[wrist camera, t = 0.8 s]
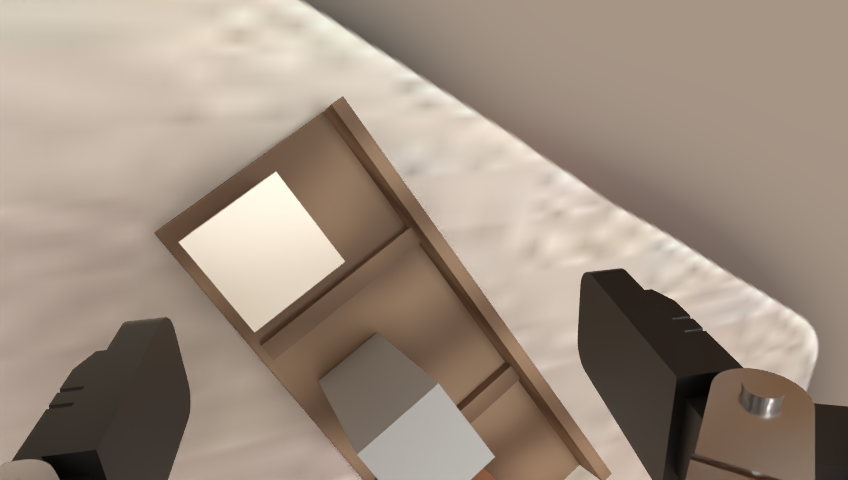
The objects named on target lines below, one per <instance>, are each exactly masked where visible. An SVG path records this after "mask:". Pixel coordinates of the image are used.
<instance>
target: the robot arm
mask: <svg viewBox="0 0 848 480" xmlns="http://www.w3.org/2000/svg"><path fill="white" fill-rule="evenodd" d="M578 350H579V356H580V360H581V363H582V366H583V368H584V370H585V372H586V373H587V375H588V377H589V378H590V380H591V381H592V383H593V385H594V386H595V388H596V390H597V391H598V393H599V394H600V396H601V398H602V399H603V401H604V403H605V404H606V406H607V407H608V409H609V411H610V412H611V414H612V415H613V417H614V419H615V420H616V422H617V424H618V425H619V427H620V428H621V430H622V432H623V433H624V435H625V436H626V438H627V440H628V441H629V443H630V445H631V446H632V448H633V449H634V451H635V453H636V454H637V456H638V457H639V459H640V461H641V462H642V464H643V466H644V467H645V469H646V470H647V472H648V474H649V475H650V477H651V478H652V480H848V407H846V406H834V405H823V404H815V403H814V402H813V400H812V398H811V397H810V396H809V395H808V393H807V392H806V391H805V390H804V389H803V388H801V387H800V386H799V385H797V384H796V383H794V382H792V381H791V380H789V379H787V378H785V377H782V376H780V375H777V374H774V373H771V372H768V371H764V370H758V369H751V368H743V367H742V366H741V365H740V364H739V363H738V362H737V361H736V360H735V359H734V358H733V357H732V356H731V355H730V354H729V353H728V352H727V351H726V350H725V349H724V348H723V347H722V346H721V345H720V344H719V343H717V342H716V341H715V340H714V339H713V338H712V337H711V336H710V335H709V334H708V333H707V332H706V331H703V329H702V327H701V326H700V325H699V324H698V323H697V322H696V321H695V320H694V319H690V315H689V314H688V313H687V312H686V311H685V310H684V309H683V308H682V307H681V306H680V305H679V304H678V303H677V302H675V301H674V300H672V299H670V298H668V297H666V296H664V295H662V294H660V293H658V292H656V291H654V290H652V289H651V290H644V289H643V288H642V287H641V286H640V285H639V284H638V283H637V282H636V281H635V280H634V279H633V278H632V277H631V276H630V275H629V274H628V273H627V271H625V270H624V269H621V268H620V269H611V270H602V271H593V272H586V273H584V274H583V276H582V279H581V288H580V306H579V324H578ZM189 413H190V390H189V384H188V380H187V376H186V372H185V368H184V365H183V361H182V357H181V353H180V349H179V345H178V341H177V337H176V334H175V330H174V327H173V324H172V322H171V320H170V319H169V318H167V317H165V318H156V319H147V320H138V321H128V322H125V323H123V325H122V326H121V328H120V329H119V331H118V332H117V334H116V336H115V337H114V339H113V341H112V342H111V344H110V345H109V347H108V349H107V350H104V351H96V352H95V353H93V354H92V355H91V356H90V357H88V358H87V359H86V360H85V361H83V362H82V363H81V364H79V365H78V366H77V367H76V368H74V369H73V370H72V372H71V373H70V375H69V376H68V378H67V379H66V381H65V382H64V384H63V385H62V387H61V388H60V393H57V394H56V396H55V397H54V399H53V400H52V402H51V403H50V405H49V409H47V410H46V411H45V412H44V414H43V415H42V417H41V418H40V420H39V421H38V423H37V424H36V426H35V427H34V429H33V430H32V432H31V433H30V435H29V436H28V437H27V439H26V440H25V442H24V443H23V445H22V446H21V448H20V449H19V451H18V452H17V454H16V455H15V457H14V458H13V460H12V461H11V462H9V463H5V464H2V465H0V480H168V478H169V475H170V472H171V469H172V466H173V463H174V460H175V457H176V454H177V451H178V448H179V445H180V442H181V439H182V436H183V433H184V430H185V427H186V424H187V421H188V418H189Z"/></svg>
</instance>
